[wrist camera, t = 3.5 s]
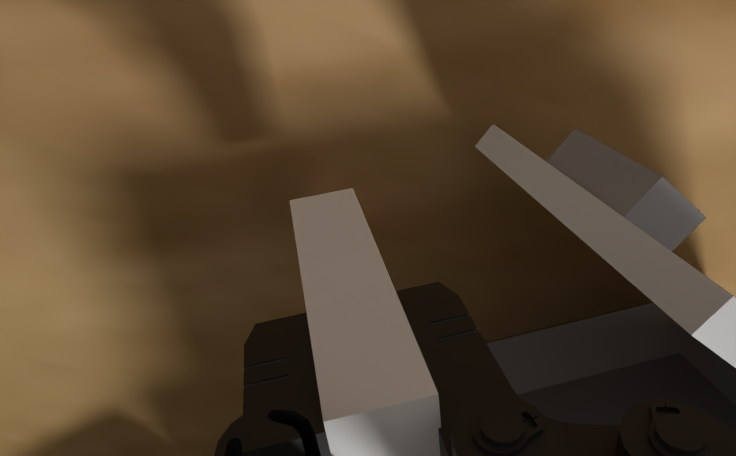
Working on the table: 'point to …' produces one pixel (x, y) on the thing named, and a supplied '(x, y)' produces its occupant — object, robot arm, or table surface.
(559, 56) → the table surface
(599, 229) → the side door
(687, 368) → the grey box
